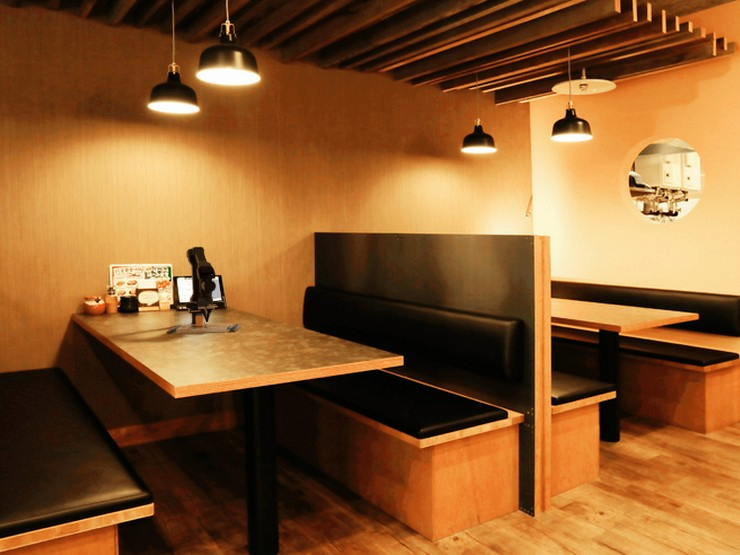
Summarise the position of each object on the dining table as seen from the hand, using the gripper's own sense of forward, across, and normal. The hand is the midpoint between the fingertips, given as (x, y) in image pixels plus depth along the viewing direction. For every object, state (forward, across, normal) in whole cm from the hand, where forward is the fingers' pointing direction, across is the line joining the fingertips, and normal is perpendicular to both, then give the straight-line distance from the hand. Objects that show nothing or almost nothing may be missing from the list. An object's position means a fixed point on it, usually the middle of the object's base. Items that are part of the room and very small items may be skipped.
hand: (207, 322), depth 308 cm
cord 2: (+4, +13, 0) cm, 14 cm away
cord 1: (+4, -16, 0) cm, 16 cm away
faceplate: (+4, -1, 0) cm, 4 cm away
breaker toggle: (+2, -3, 0) cm, 4 cm away
